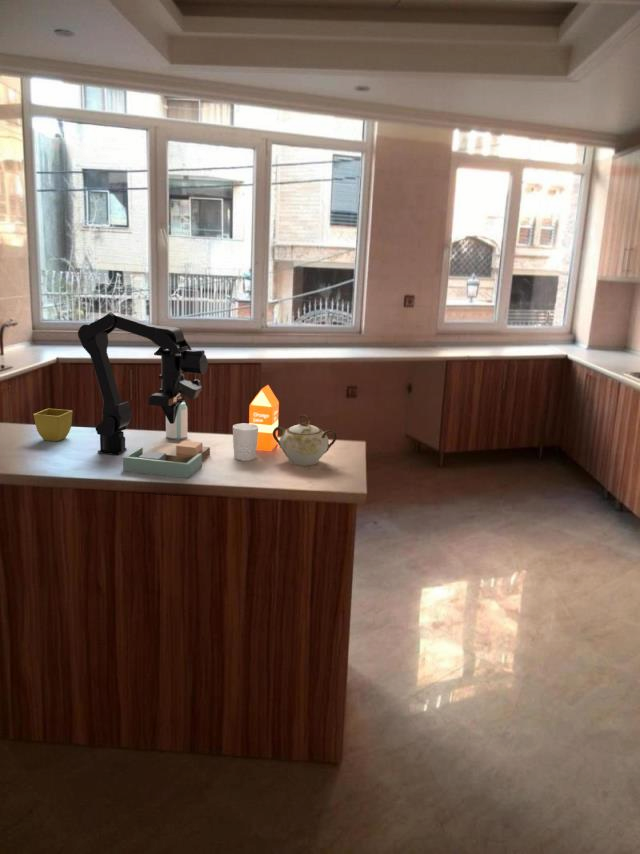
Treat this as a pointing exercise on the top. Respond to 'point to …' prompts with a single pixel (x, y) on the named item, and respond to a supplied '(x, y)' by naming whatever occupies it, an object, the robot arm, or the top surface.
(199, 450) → the terracotta tile
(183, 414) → the can
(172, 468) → the box
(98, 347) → the robot arm
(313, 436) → the sugar bowl
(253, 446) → the white cup
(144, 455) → the slate tile
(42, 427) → the flower pot
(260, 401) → the orange juice
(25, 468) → the top surface
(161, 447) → the walnut board
